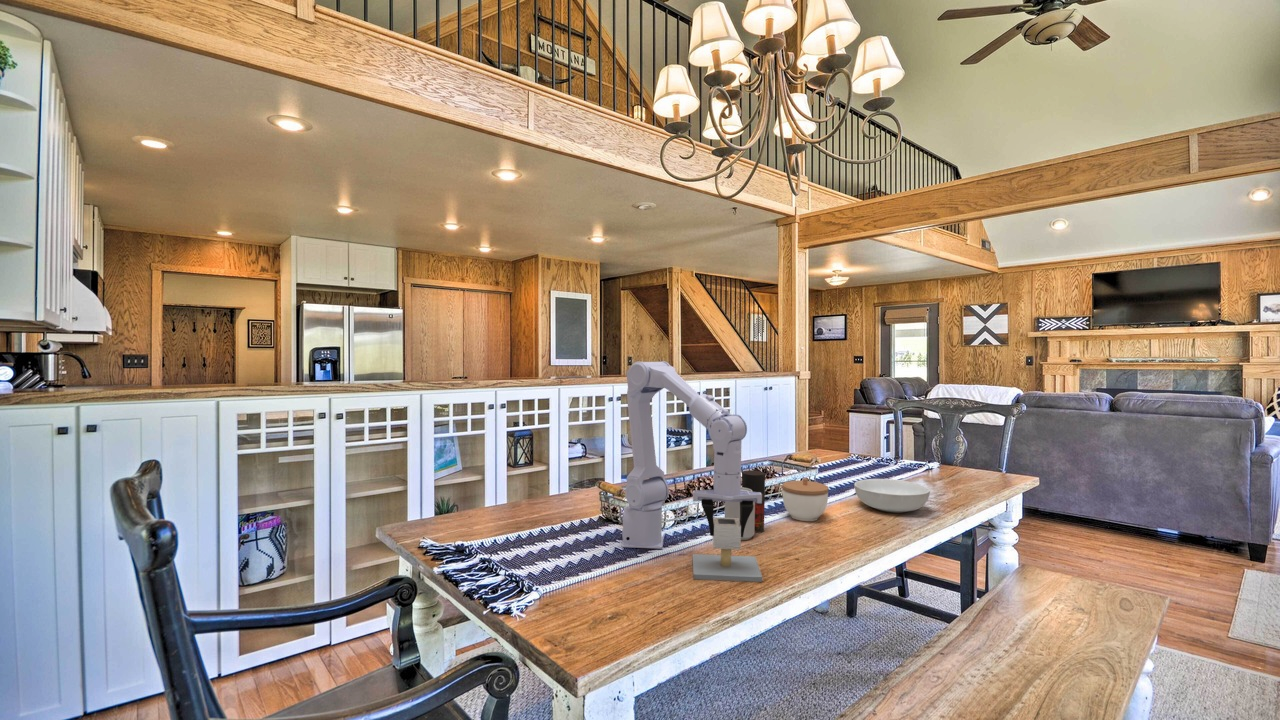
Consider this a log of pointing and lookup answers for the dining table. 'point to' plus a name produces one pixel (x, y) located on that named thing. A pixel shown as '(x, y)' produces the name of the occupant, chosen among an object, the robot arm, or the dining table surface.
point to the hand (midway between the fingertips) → (726, 535)
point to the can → (734, 512)
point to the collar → (726, 533)
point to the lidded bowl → (805, 499)
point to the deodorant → (756, 484)
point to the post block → (726, 567)
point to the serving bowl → (892, 494)
